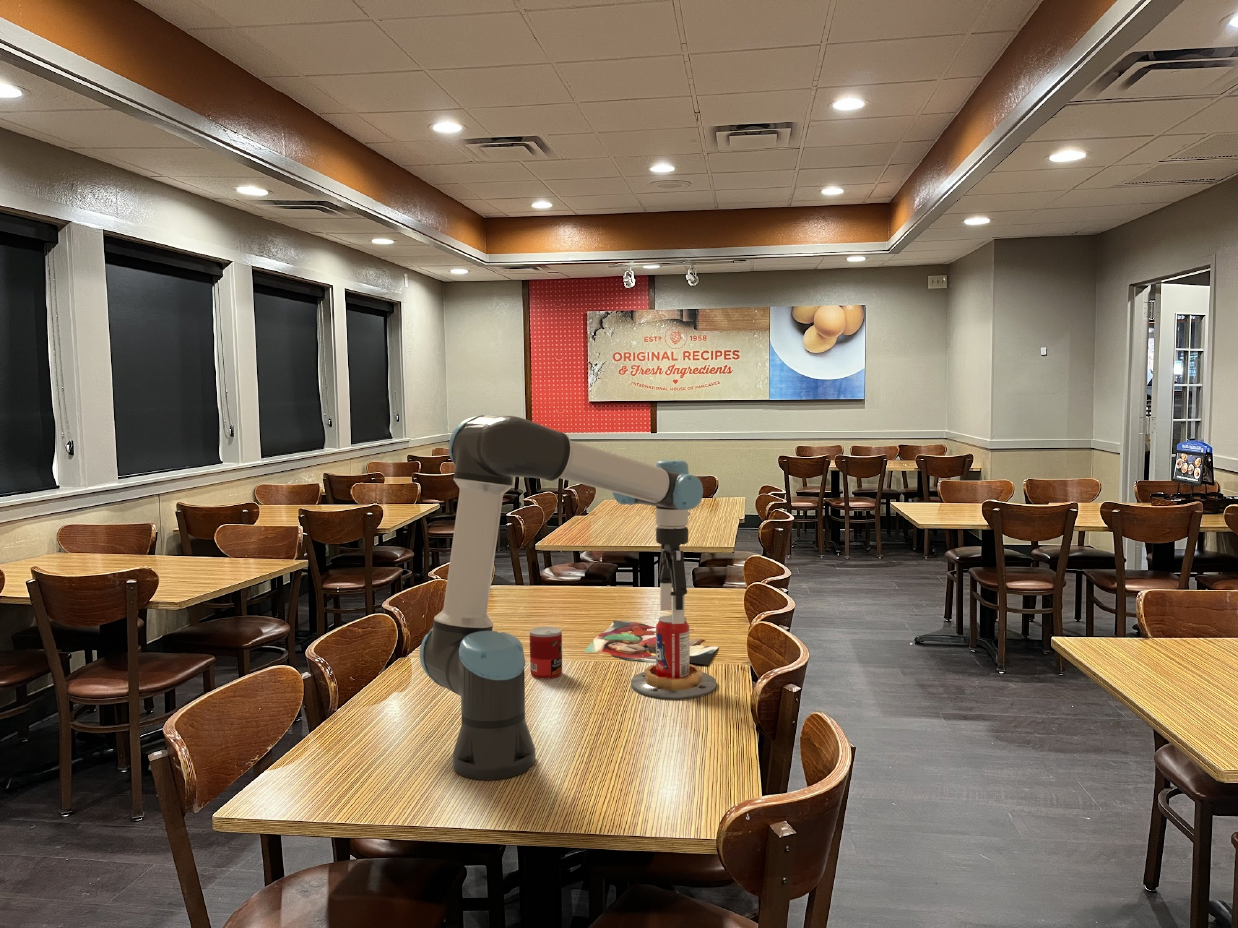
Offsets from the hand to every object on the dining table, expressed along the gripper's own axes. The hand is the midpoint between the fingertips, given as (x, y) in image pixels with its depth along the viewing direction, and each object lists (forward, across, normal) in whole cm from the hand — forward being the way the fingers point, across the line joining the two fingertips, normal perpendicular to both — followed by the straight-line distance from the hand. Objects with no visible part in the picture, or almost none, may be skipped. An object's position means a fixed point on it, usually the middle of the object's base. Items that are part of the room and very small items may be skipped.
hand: (671, 616), depth 201 cm
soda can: (+16, 0, 0) cm, 16 cm away
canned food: (+17, +14, +28) cm, 36 cm away
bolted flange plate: (+16, 0, 0) cm, 16 cm away
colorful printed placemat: (+17, +36, -3) cm, 40 cm away
